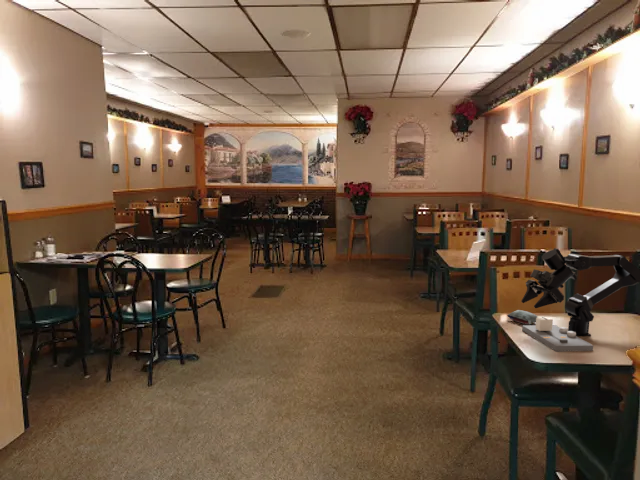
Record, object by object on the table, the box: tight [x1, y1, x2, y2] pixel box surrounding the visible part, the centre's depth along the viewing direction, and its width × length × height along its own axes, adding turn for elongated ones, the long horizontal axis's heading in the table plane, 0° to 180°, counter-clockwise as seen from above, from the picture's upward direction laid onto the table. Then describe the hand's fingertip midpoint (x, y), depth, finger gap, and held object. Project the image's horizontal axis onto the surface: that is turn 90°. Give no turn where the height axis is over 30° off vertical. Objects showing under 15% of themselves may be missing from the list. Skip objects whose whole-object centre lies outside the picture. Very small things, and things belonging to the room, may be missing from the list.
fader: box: [535, 316, 554, 331], centre depth 188 cm, size 3×5×5 cm, turn 95°
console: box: [521, 324, 594, 352], centre depth 183 cm, size 24×14×4 cm, turn 5°
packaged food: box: [506, 309, 538, 325], centre depth 206 cm, size 9×12×5 cm
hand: (528, 304), depth 187 cm, fingers open, 9 cm apart
